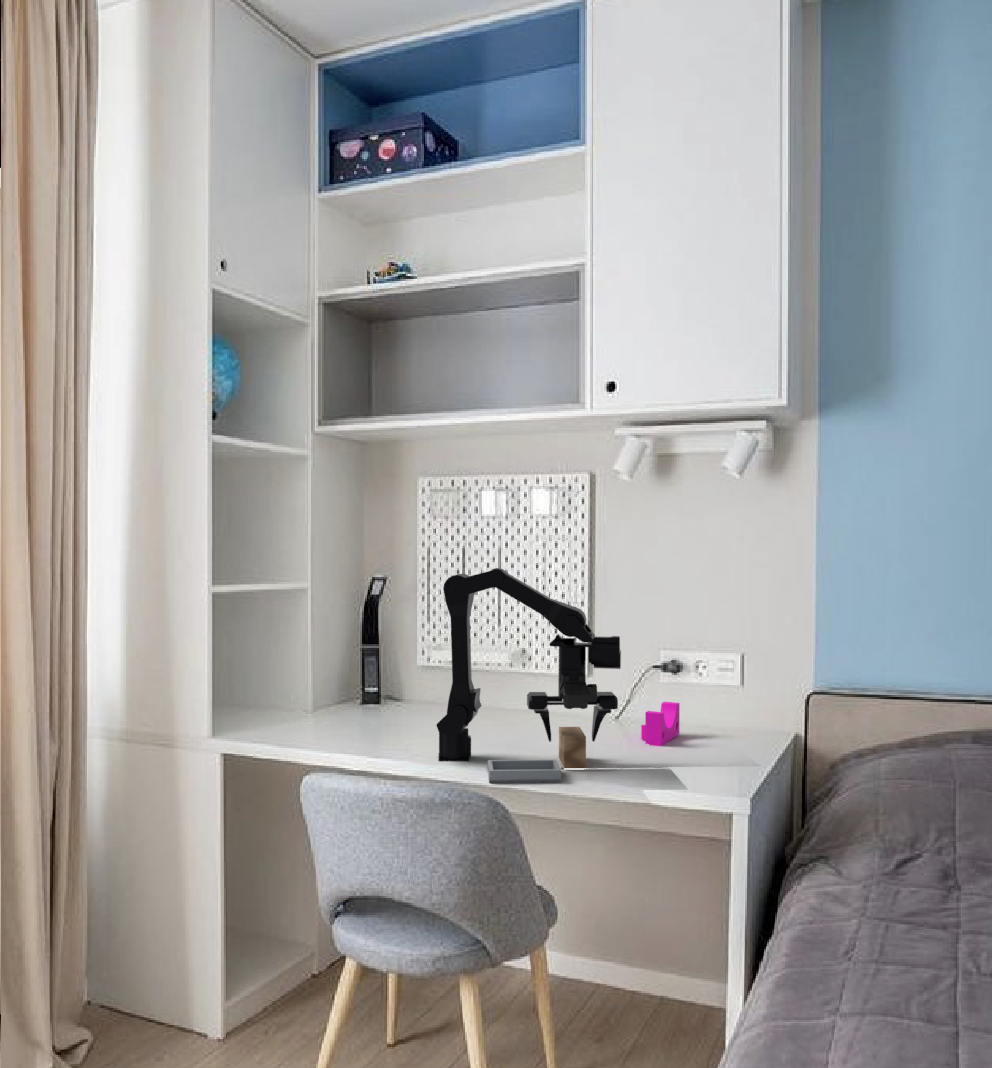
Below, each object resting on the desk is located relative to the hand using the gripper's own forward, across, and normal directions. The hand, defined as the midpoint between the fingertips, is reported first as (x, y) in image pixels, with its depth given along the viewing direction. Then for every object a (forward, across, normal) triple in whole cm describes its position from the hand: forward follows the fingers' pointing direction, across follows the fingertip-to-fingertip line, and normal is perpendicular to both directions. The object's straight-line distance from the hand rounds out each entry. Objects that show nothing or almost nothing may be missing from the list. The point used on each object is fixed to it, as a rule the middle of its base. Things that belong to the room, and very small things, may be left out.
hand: (571, 741), depth 207 cm
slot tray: (+5, -11, -10) cm, 16 cm away
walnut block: (+5, 0, 0) cm, 5 cm away
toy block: (+5, +24, +25) cm, 35 cm away
